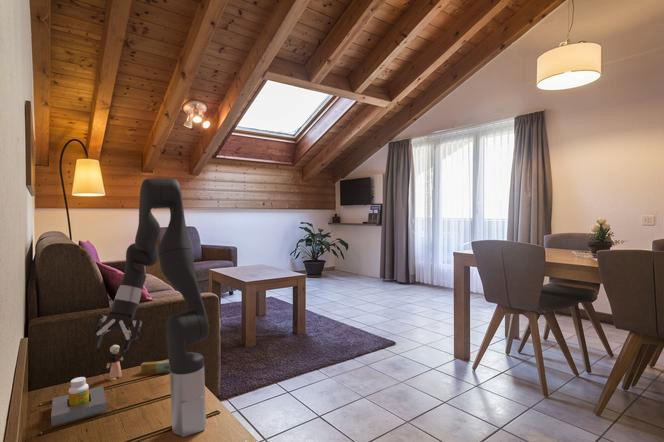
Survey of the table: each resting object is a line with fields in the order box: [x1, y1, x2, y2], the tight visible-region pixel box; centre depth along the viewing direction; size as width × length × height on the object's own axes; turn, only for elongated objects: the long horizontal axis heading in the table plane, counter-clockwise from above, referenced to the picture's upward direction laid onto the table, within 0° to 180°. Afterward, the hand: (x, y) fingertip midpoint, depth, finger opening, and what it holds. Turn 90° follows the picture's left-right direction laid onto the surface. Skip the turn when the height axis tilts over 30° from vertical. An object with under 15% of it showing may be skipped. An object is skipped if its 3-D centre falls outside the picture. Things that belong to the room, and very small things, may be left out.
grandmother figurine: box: [106, 344, 124, 382], centre depth 145 cm, size 8×4×13 cm, turn 179°
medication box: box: [140, 360, 170, 375], centre depth 149 cm, size 12×3×4 cm, turn 94°
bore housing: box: [50, 385, 108, 428], centre depth 121 cm, size 14×14×3 cm
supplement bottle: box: [68, 376, 90, 407], centre depth 121 cm, size 5×5×10 cm
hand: (109, 349), depth 124 cm, fingers open, 8 cm apart
